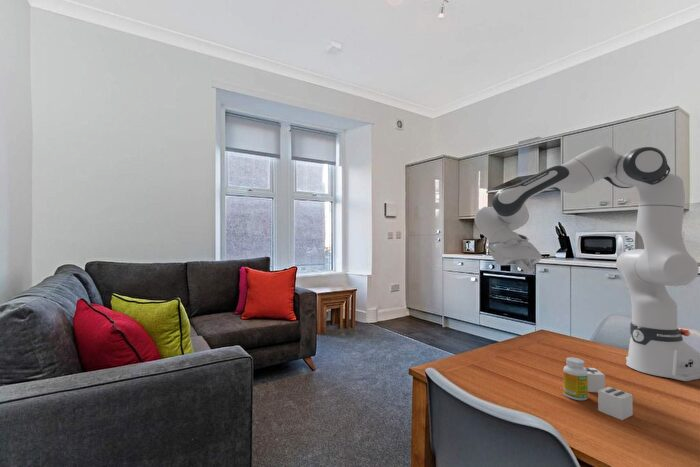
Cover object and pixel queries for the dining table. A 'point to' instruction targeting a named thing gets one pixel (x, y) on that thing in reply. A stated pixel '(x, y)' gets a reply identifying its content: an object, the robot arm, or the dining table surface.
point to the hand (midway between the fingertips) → (530, 272)
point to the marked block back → (595, 380)
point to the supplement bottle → (575, 379)
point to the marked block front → (615, 403)
